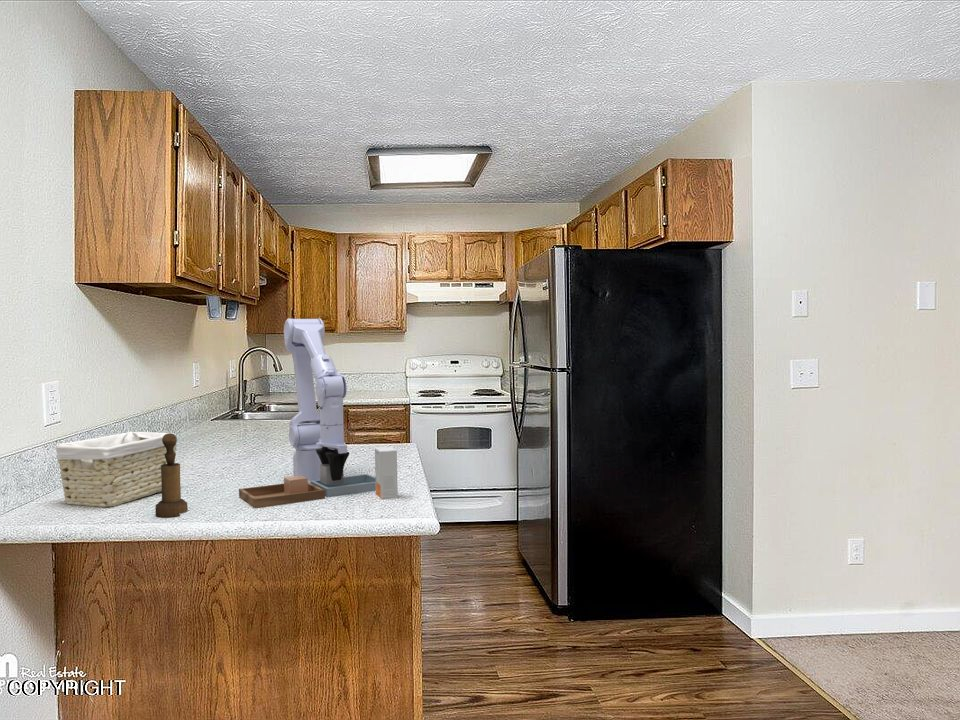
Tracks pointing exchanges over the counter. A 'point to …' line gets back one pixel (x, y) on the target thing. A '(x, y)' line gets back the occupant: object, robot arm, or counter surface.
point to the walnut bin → (278, 495)
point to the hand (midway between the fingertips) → (333, 478)
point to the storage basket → (112, 468)
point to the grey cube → (328, 475)
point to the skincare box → (386, 472)
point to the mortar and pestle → (170, 483)
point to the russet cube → (295, 484)
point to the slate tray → (349, 485)
